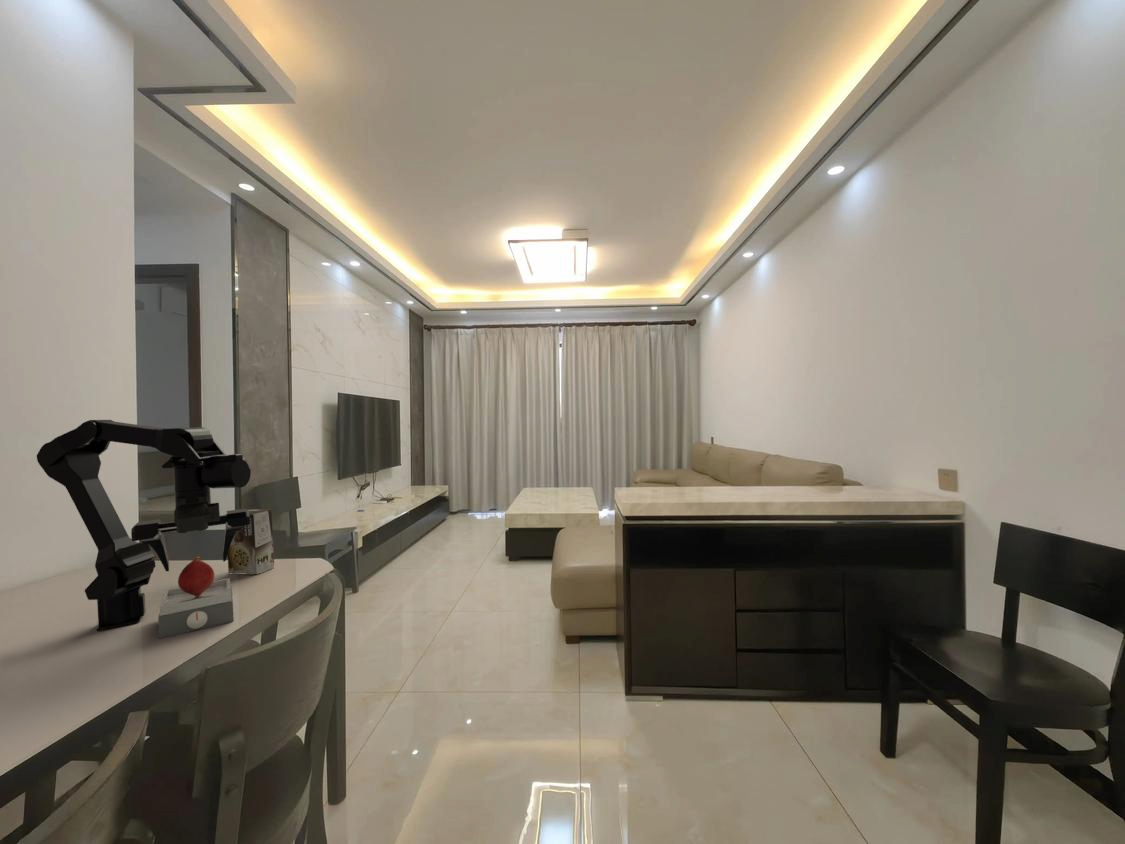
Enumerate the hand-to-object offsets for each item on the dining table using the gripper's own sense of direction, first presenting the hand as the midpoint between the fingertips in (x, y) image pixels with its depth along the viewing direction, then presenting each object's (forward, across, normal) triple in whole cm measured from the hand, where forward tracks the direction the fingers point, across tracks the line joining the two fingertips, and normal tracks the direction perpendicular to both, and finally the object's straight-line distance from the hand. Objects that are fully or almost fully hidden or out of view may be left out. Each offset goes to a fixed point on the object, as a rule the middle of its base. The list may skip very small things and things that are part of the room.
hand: (196, 565), depth 98 cm
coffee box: (+11, +10, +31) cm, 35 cm away
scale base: (+11, 0, 0) cm, 11 cm away
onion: (+6, 0, 0) cm, 6 cm away
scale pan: (+7, 0, 0) cm, 7 cm away
